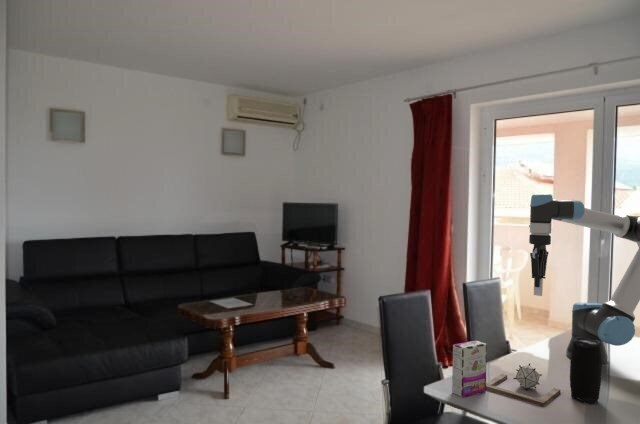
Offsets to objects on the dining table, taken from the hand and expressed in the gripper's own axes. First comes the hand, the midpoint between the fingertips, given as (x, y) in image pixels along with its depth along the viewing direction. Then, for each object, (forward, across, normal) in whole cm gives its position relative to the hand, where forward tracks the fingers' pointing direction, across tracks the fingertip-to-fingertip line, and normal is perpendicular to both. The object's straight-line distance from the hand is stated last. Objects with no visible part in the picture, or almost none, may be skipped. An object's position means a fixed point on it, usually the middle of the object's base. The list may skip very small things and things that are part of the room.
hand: (537, 295), depth 186 cm
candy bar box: (+29, +42, -6) cm, 51 cm away
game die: (+29, +23, +6) cm, 37 cm away
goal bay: (+28, +26, +5) cm, 39 cm away
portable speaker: (+29, +19, +22) cm, 41 cm away
